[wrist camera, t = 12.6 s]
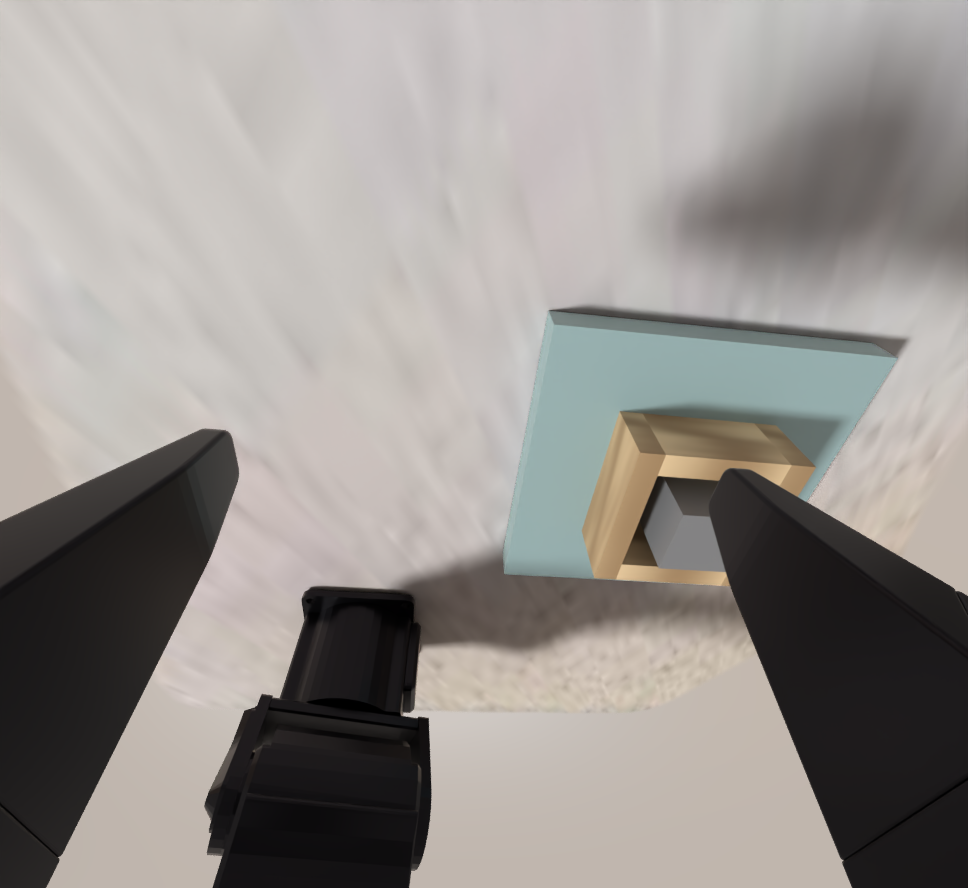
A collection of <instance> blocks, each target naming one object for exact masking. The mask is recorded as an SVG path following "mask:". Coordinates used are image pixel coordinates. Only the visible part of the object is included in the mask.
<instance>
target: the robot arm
mask: <svg viewBox="0 0 968 888" xmlns="http://www.w3.org/2000/svg"><path fill="white" fill-rule="evenodd" d="M238 478H239V467H238V462H237V458H236V453H235V448H234V444H233V439H232V436H231V434H230V433H229V432H228V431H226V430H216V429H201V430H199V431H197V432H194V433H192V434H190V435H188V436H186V437H184V438H181V439H179V440H177V441H175V442H173V443H171V444H168V445H166V446H164V447H162V448H160V449H157V450H155V451H153V452H151V453H149V454H147V455H144V456H142V457H140V458H138V459H136V460H134V461H131V462H129V463H127V464H125V465H123V466H120V467H118V468H116V469H114V470H112V471H110V472H107V473H105V474H103V475H101V476H99V477H96V478H94V479H92V480H90V481H88V482H86V483H83V484H81V485H79V486H77V487H75V488H73V489H70V490H68V491H66V492H64V493H62V494H59V495H57V496H55V497H53V498H51V499H49V500H47V501H44V502H42V503H40V504H38V505H36V506H33V507H31V508H29V509H27V510H25V511H22V512H20V513H18V514H16V515H14V516H12V517H9V518H7V519H5V520H3V521H1V522H0V888H46V887H47V885H48V883H49V881H50V879H51V877H52V875H53V873H54V871H55V869H56V867H57V864H58V863H59V858H58V857H59V856H61V855H62V854H63V852H64V850H65V848H66V846H67V844H68V842H69V840H70V838H71V836H72V834H73V832H74V830H75V827H76V826H77V824H78V822H79V820H80V818H81V815H82V814H83V812H84V810H85V807H86V806H87V804H88V801H89V800H90V798H91V796H92V794H93V792H94V790H95V788H96V785H97V784H98V782H99V780H100V778H101V776H102V773H103V772H104V770H105V768H106V766H107V764H108V762H109V759H110V758H111V756H112V754H113V752H114V750H115V748H116V746H117V744H118V741H119V740H120V737H121V735H122V733H123V732H124V730H125V728H126V725H127V723H128V722H129V720H130V718H131V716H132V713H133V712H134V709H135V708H136V706H137V703H138V702H139V700H140V698H141V696H142V694H143V692H144V690H145V688H146V685H147V684H148V681H149V680H150V678H151V676H152V674H153V672H154V670H155V668H156V666H157V664H158V662H159V660H160V658H161V656H162V654H163V652H164V650H165V648H166V646H167V644H168V642H169V640H170V638H171V636H172V634H173V632H174V630H175V628H176V626H177V624H178V622H179V620H180V618H181V616H182V614H183V612H184V610H185V608H186V606H187V604H188V602H189V600H190V598H191V596H192V593H193V591H194V589H195V587H196V585H197V583H198V581H199V579H200V577H201V575H202V573H203V571H204V569H205V567H206V565H207V563H208V561H209V559H210V557H211V555H212V552H213V549H214V547H215V544H216V542H217V539H218V536H219V533H220V530H221V527H222V525H223V522H224V519H225V516H226V513H227V511H228V508H229V505H230V502H231V499H232V496H233V494H234V491H235V488H236V485H237V482H238ZM708 509H709V516H710V519H711V523H712V526H713V530H714V533H715V537H716V540H717V544H718V547H719V551H720V554H721V558H722V561H723V565H724V568H725V572H726V575H727V578H728V581H729V584H730V587H731V589H732V592H733V595H734V597H735V600H736V602H737V605H738V607H739V610H740V612H741V615H742V617H743V619H744V622H745V624H746V627H747V629H748V632H749V634H750V637H751V639H752V642H753V644H754V647H755V649H756V651H757V654H758V656H759V659H760V661H761V664H762V666H763V668H764V671H765V674H766V676H767V679H768V681H769V683H770V686H771V688H772V691H773V693H774V696H775V698H776V701H777V703H778V706H779V708H780V710H781V713H782V715H783V718H784V720H785V723H786V725H787V728H788V730H789V733H790V735H791V738H792V740H793V742H794V745H795V747H796V750H797V752H798V755H799V757H800V760H801V762H802V764H803V767H804V770H805V772H806V774H807V777H808V779H809V782H810V784H811V787H812V789H813V792H814V794H815V797H816V799H817V801H818V804H819V806H820V809H821V811H822V814H823V816H824V819H825V821H826V824H827V826H828V828H829V831H830V834H831V836H832V838H833V841H834V843H835V846H836V848H837V850H838V853H839V856H840V858H841V859H842V860H843V862H842V863H843V866H844V869H845V871H846V874H847V876H848V879H849V881H850V884H851V886H852V888H968V596H967V595H965V594H964V593H962V592H959V591H955V589H954V588H953V587H951V586H950V585H948V584H946V583H944V582H943V581H941V580H939V579H938V578H936V577H934V576H932V575H931V574H929V573H927V572H926V571H924V570H922V569H920V568H918V567H917V566H915V565H914V564H912V563H910V562H908V561H907V560H905V559H903V558H902V557H900V556H898V555H896V554H895V553H893V552H891V551H890V550H888V549H886V548H884V547H883V546H881V545H879V544H878V543H876V542H874V541H872V540H871V539H869V538H867V537H866V536H864V535H862V534H860V533H859V532H857V531H855V530H854V529H852V528H850V527H848V526H847V525H845V524H843V523H842V522H840V521H838V520H836V519H835V518H833V517H831V516H830V515H828V514H826V513H824V512H823V511H821V510H819V509H818V508H816V507H814V506H812V505H811V504H809V503H807V502H806V501H804V500H802V499H800V498H799V497H797V496H795V495H794V494H792V493H790V492H788V491H787V490H785V489H783V488H782V487H780V486H778V485H776V484H775V483H773V482H771V481H770V480H768V479H766V478H764V477H763V476H761V475H759V474H758V473H756V472H754V471H752V470H750V469H741V468H729V469H727V470H725V471H724V472H723V474H722V476H721V478H720V480H719V482H718V484H717V486H716V488H715V490H714V492H713V494H712V496H711V498H710V501H709V507H708ZM302 606H303V613H304V619H305V620H304V623H303V627H302V630H301V633H300V636H299V639H298V642H297V646H296V649H295V652H294V655H293V658H292V661H291V664H290V668H289V671H288V674H287V677H286V680H285V683H284V687H283V690H282V693H281V696H280V699H279V698H272V697H273V696H272V695H266V694H262V695H261V697H260V700H259V703H258V705H257V706H255V708H252V709H248V710H245V711H244V713H243V716H242V719H241V722H240V724H239V727H238V729H237V732H236V735H235V737H234V740H233V742H232V745H231V747H230V749H229V752H228V754H227V756H226V758H225V760H224V762H223V764H222V766H221V768H220V770H219V772H218V774H217V776H216V778H215V780H214V782H213V784H212V786H211V789H210V791H209V793H208V796H207V798H206V802H205V806H204V807H205V809H206V811H207V813H208V815H209V817H210V820H211V824H210V828H209V833H211V837H210V841H209V846H208V850H207V855H218V856H222V859H221V863H220V866H219V869H218V872H217V875H216V878H215V882H214V885H213V888H409V884H410V875H411V871H415V870H417V868H418V867H419V864H420V863H421V860H422V857H423V853H424V849H425V845H426V840H427V835H428V829H429V822H430V812H431V811H430V810H431V767H430V741H429V718H425V717H418V718H411V717H405V716H403V712H406V713H410V712H411V711H412V710H413V709H414V706H415V694H416V683H417V672H418V661H419V649H420V634H421V626H420V624H419V623H418V622H414V608H415V599H414V598H413V597H412V596H410V595H402V594H382V593H362V592H342V591H321V590H308V591H305V592H304V594H303V597H302Z"/></svg>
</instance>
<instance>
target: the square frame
mask: <svg viewBox="0 0 968 888" xmlns="http://www.w3.org/2000/svg"><path fill="white" fill-rule="evenodd" d="M729 468H741V469H750V470H752V471H754V472H756V473H758V474H759V475H761V476H763V477H764V478H766V479H768V480H770V481H771V482H773V483H775V484H776V485H778V486H780V487H782V488H783V489H785V490H787V491H788V492H790V493H792V494H794V495H795V496H797V497H798V496H799V494H800V492H801V491H802V489H803V488H804V486H805V484H806V483H807V481H808V480H809V478H810V477H811V475H812V473H813V472H814V470H815V469H816V466H815V465H814V464H813V463H812V462H811V461H810V460H809V459H808V458H807V457H806V456H805V455H804V454H803V453H802V452H801V451H800V450H799V449H798V448H797V447H796V446H795V445H794V444H793V443H792V441H791V440H790V439H789V438H788V437H787V436H786V435H785V434H784V433H783V432H782V431H781V430H780V429H779V428H778V427H777V426H776V425H767V424H756V423H745V422H734V421H723V420H712V419H701V418H689V417H678V416H667V415H656V414H645V413H634V412H623V411H620V412H619V415H618V418H617V421H616V424H615V427H614V431H613V434H612V437H611V440H610V443H609V446H608V449H607V453H606V456H605V459H604V462H603V465H602V468H601V471H600V475H599V478H598V481H597V484H596V487H595V490H594V493H593V497H592V500H591V503H590V506H589V509H588V512H587V515H586V519H585V522H584V525H583V528H582V534H583V538H584V542H585V545H586V549H587V553H588V557H589V560H590V564H591V568H592V572H593V575H594V578H598V579H615V580H633V581H650V582H667V583H684V584H701V585H718V586H730V584H729V581H728V578H727V575H726V572H714V571H696V570H678V569H661V568H658V565H657V563H656V560H655V558H654V555H653V553H652V551H651V548H650V546H649V543H648V541H647V538H646V536H645V533H644V531H643V529H642V526H641V524H640V518H641V516H642V513H643V511H644V508H645V506H646V503H647V501H648V498H649V496H650V493H651V491H652V488H653V486H654V484H655V481H656V479H657V476H665V477H678V478H691V479H703V480H716V481H719V480H720V478H721V476H722V474H723V472H724V471H725V470H727V469H729Z"/></svg>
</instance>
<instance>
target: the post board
mask: <svg viewBox="0 0 968 888" xmlns="http://www.w3.org/2000/svg"><path fill="white" fill-rule="evenodd" d="M897 359H898V358H897V357H895V356H894V355H892V354H890V353H889V352H887V351H885V350H883V349H882V348H880V347H878V346H877V345H875V344H873V343H867V342H857V341H847V340H837V339H827V338H817V337H807V336H797V335H787V334H777V333H767V332H757V331H747V330H737V329H727V328H717V327H707V326H697V325H687V324H677V323H667V322H657V321H647V320H637V319H627V318H617V317H607V316H597V315H587V314H577V313H567V312H557V311H548V316H547V321H546V327H545V332H544V337H543V343H542V348H541V353H540V358H539V364H538V369H537V374H536V380H535V385H534V390H533V395H532V401H531V406H530V411H529V417H528V422H527V427H526V432H525V438H524V443H523V448H522V454H521V459H520V464H519V469H518V475H517V480H516V485H515V491H514V496H513V501H512V506H511V512H510V517H509V522H508V527H507V533H506V538H505V543H504V549H503V565H504V574H509V575H527V576H546V577H565V578H583V579H598V578H594V575H593V572H592V568H591V564H590V560H589V557H588V553H587V549H586V545H585V542H584V538H583V534H582V528H583V525H584V522H585V519H586V515H587V512H588V509H589V506H590V503H591V500H592V497H593V493H594V490H595V487H596V484H597V481H598V478H599V475H600V471H601V468H602V465H603V462H604V459H605V456H606V453H607V449H608V446H609V443H610V440H611V437H612V434H613V431H614V427H615V424H616V421H617V418H618V415H619V412H620V411H623V412H634V413H645V414H656V415H667V416H678V417H689V418H701V419H712V420H723V421H734V422H745V423H756V424H767V425H776V426H777V427H778V428H779V429H780V430H781V431H782V432H783V433H784V434H785V435H786V436H787V437H788V438H789V439H790V440H791V441H792V443H793V444H794V445H795V446H796V447H797V448H798V449H799V450H800V451H801V452H802V453H803V454H804V455H805V456H806V457H807V458H808V459H809V460H810V461H811V462H812V463H813V464H814V465H815V466H816V469H815V470H814V472H813V473H812V475H811V477H810V478H809V480H808V481H807V483H806V484H805V486H804V488H803V489H802V491H801V492H800V494H799V496H798V497H799V498H800V499H802V500H804V501H806V502H807V500H808V499H809V497H810V495H811V494H812V492H813V491H814V489H815V488H816V486H817V484H818V483H819V481H820V480H821V478H822V477H823V475H824V473H825V472H826V470H827V469H828V467H829V466H830V464H831V462H832V461H833V459H834V458H835V456H836V455H837V453H838V452H839V450H840V448H841V447H842V445H843V444H844V442H845V441H846V439H847V437H848V436H849V434H850V433H851V431H852V430H853V428H854V426H855V425H856V423H857V422H858V420H859V419H860V417H861V415H862V414H863V412H864V411H865V409H866V408H867V406H868V404H869V403H870V401H871V400H872V398H873V397H874V395H875V393H876V392H877V390H878V389H879V387H880V386H881V384H882V382H883V381H884V379H885V378H886V376H887V375H888V373H889V372H890V370H891V368H892V367H893V365H894V364H895V362H896V361H897ZM718 482H719V481H716V480H703V479H691V478H678V477H665V476H657V479H656V481H655V484H654V486H653V488H652V491H651V493H650V496H649V498H648V501H647V503H646V506H645V508H644V511H643V513H642V516H641V518H640V524H641V526H642V529H643V531H644V533H645V536H646V538H647V541H648V543H649V546H650V548H651V551H652V553H653V555H654V558H655V560H656V563H657V565H658V568H661V569H678V570H696V571H714V572H725V568H724V565H723V561H722V558H721V554H720V551H719V547H718V544H717V540H716V537H715V533H714V530H713V526H712V523H711V519H710V516H709V509H708V507H709V501H710V498H711V496H712V494H713V492H714V490H715V488H716V486H717V484H718ZM602 580H615V579H602ZM621 581H633V580H621ZM639 582H650V581H639ZM658 583H667V582H658ZM677 584H684V583H677ZM695 585H701V584H695ZM714 586H718V585H714Z"/></svg>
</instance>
